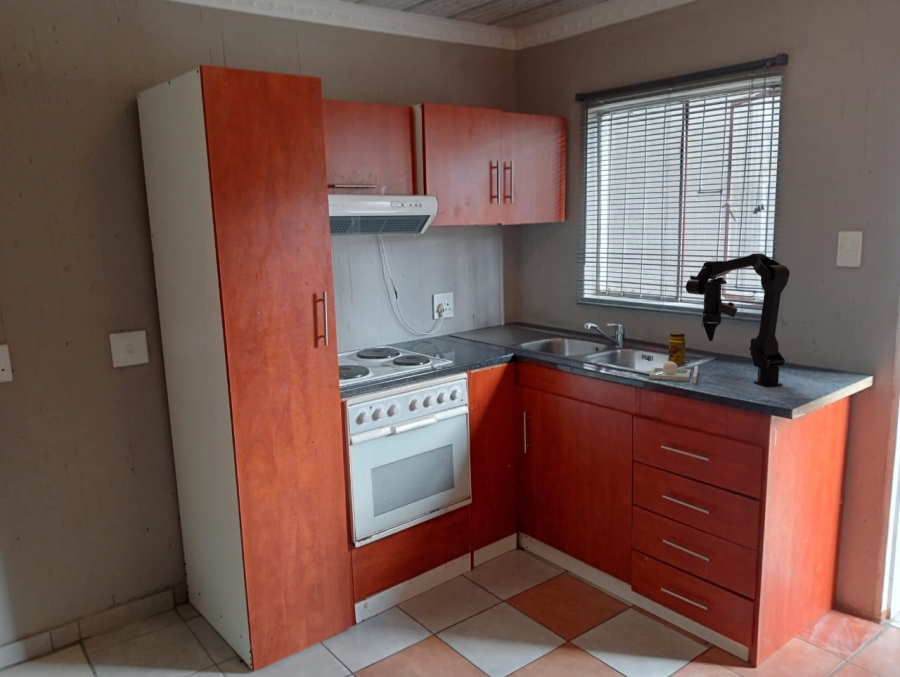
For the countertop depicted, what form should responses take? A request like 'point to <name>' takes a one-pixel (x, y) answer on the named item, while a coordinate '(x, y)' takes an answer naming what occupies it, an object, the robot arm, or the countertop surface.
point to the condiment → (677, 348)
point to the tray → (679, 376)
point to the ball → (670, 368)
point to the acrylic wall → (695, 374)
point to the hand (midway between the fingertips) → (710, 338)
